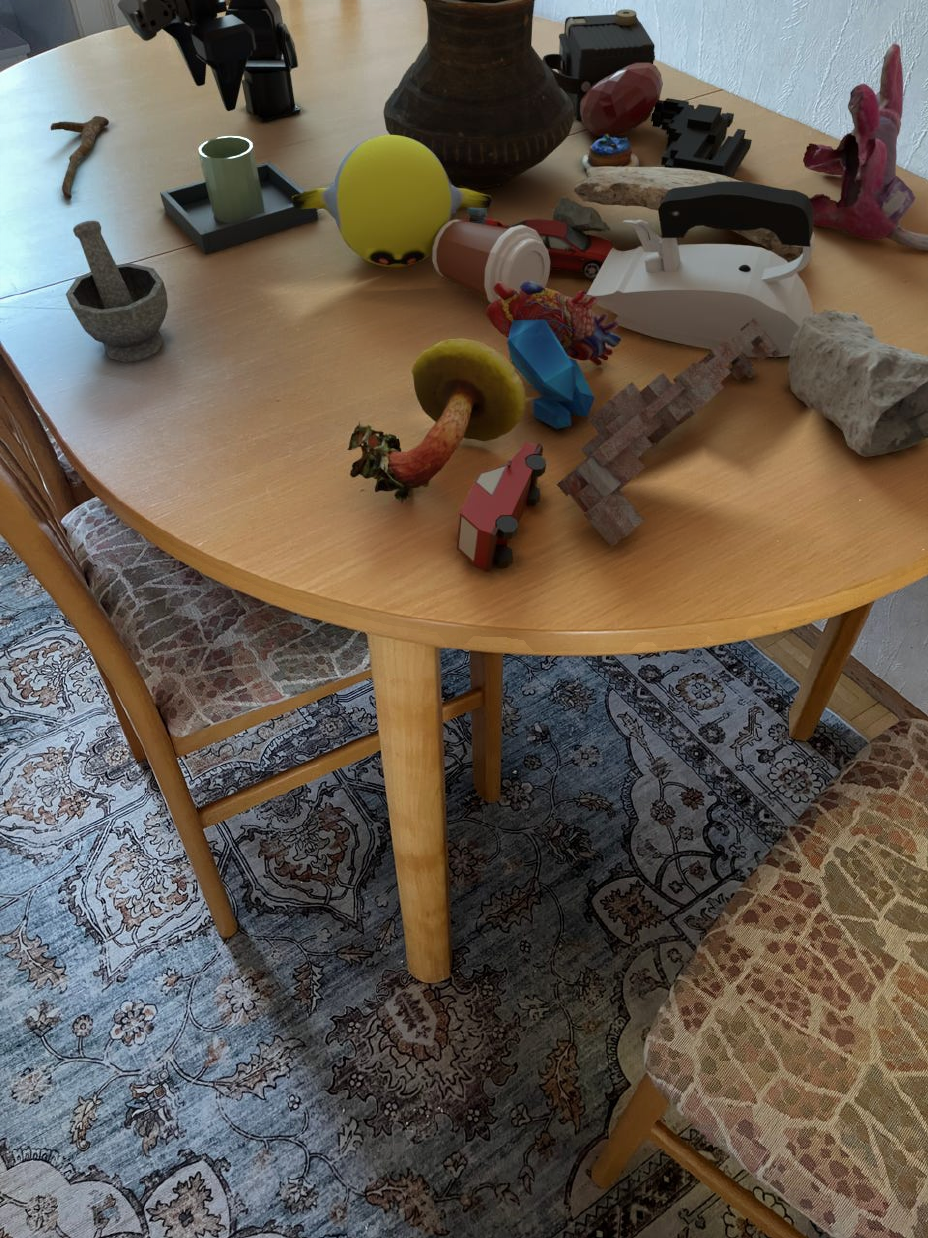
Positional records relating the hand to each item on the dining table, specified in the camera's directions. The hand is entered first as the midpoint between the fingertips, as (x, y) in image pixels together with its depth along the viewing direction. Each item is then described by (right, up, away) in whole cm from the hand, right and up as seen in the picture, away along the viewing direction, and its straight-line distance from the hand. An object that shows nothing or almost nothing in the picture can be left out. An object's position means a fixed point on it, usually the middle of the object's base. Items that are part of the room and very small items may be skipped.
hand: (215, 97), depth 114 cm
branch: (-22, 0, +16) cm, 27 cm away
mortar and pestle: (-5, -35, -14) cm, 38 cm away
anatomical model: (+35, -33, -28) cm, 55 cm away
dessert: (+52, -5, +12) cm, 54 cm away
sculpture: (+60, -38, -22) cm, 75 cm away
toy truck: (+37, -56, -36) cm, 77 cm away
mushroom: (+28, -54, -37) cm, 71 cm away
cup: (+2, -13, +4) cm, 13 cm away
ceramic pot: (+33, -5, +10) cm, 35 cm away
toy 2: (+74, -7, -4) cm, 75 cm away
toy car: (+42, -24, -6) cm, 48 cm away
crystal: (+42, -46, -28) cm, 69 cm away
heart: (+52, +3, +11) cm, 54 cm away
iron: (+58, -33, -13) cm, 68 cm away
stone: (+43, -16, -7) cm, 46 cm away
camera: (+58, +18, +22) cm, 65 cm away
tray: (+2, -13, +4) cm, 14 cm away
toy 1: (+22, -18, -1) cm, 28 cm away
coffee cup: (+30, -23, -9) cm, 39 cm away
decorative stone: (+73, -45, -34) cm, 92 cm away
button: (+33, -15, -5) cm, 37 cm away
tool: (+62, -3, +12) cm, 63 cm away
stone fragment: (+58, -10, +2) cm, 59 cm away
